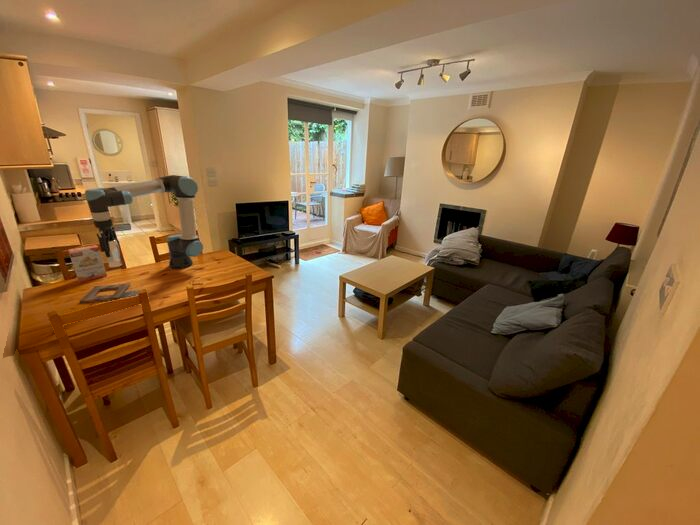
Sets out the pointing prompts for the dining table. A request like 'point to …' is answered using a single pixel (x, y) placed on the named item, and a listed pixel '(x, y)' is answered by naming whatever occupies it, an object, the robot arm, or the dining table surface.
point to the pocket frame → (92, 295)
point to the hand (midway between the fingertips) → (114, 259)
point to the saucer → (131, 293)
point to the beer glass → (114, 254)
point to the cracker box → (87, 263)
